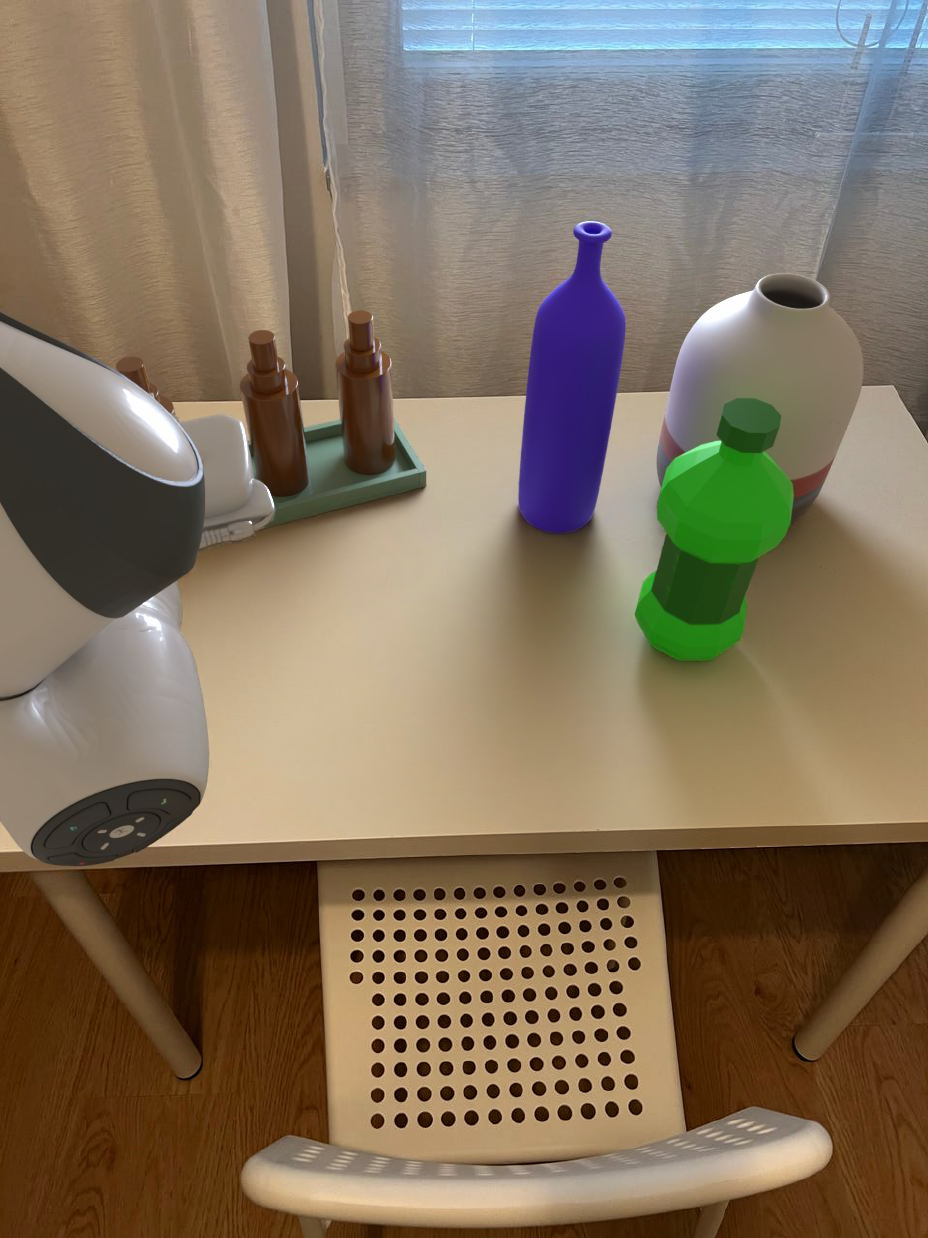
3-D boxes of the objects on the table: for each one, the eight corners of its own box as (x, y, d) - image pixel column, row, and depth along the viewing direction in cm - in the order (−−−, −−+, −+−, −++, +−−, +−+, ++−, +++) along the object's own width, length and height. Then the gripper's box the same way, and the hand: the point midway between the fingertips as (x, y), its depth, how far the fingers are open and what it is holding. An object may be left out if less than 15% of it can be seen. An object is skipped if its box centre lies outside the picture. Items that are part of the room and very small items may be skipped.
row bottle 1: (265, 502, 96) (239, 359, 83) (251, 469, 99) (224, 327, 87) (316, 489, 98) (299, 346, 85) (301, 457, 101) (282, 315, 88)
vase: (763, 435, 106) (829, 234, 88) (841, 536, 96) (934, 330, 78) (624, 459, 103) (664, 254, 85) (689, 566, 92) (750, 358, 75)
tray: (122, 565, 91) (116, 549, 89) (103, 490, 98) (97, 475, 96) (426, 486, 99) (426, 470, 98) (389, 423, 106) (388, 407, 105)
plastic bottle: (703, 586, 91) (774, 363, 72) (759, 668, 84) (853, 446, 65) (608, 609, 88) (656, 385, 70) (658, 695, 82) (725, 473, 63)
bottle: (598, 537, 95) (650, 256, 72) (516, 535, 95) (543, 253, 72) (592, 483, 100) (639, 206, 78) (515, 481, 100) (539, 202, 78)
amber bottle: (148, 532, 93) (102, 387, 80) (138, 497, 96) (92, 353, 83) (203, 518, 94) (167, 374, 82) (192, 484, 98) (155, 341, 85)
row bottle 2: (353, 480, 99) (341, 337, 86) (337, 449, 102) (323, 307, 89) (402, 467, 100) (397, 326, 87) (385, 437, 104) (378, 296, 91)
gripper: (275, 485, 49) (226, 343, 58) (-155, 576, 44) (-139, 406, 53) (289, 569, 54) (242, 427, 62) (-97, 659, 49) (-91, 491, 57)
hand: (65, 418), depth 57 cm, fingers open, 8 cm apart
